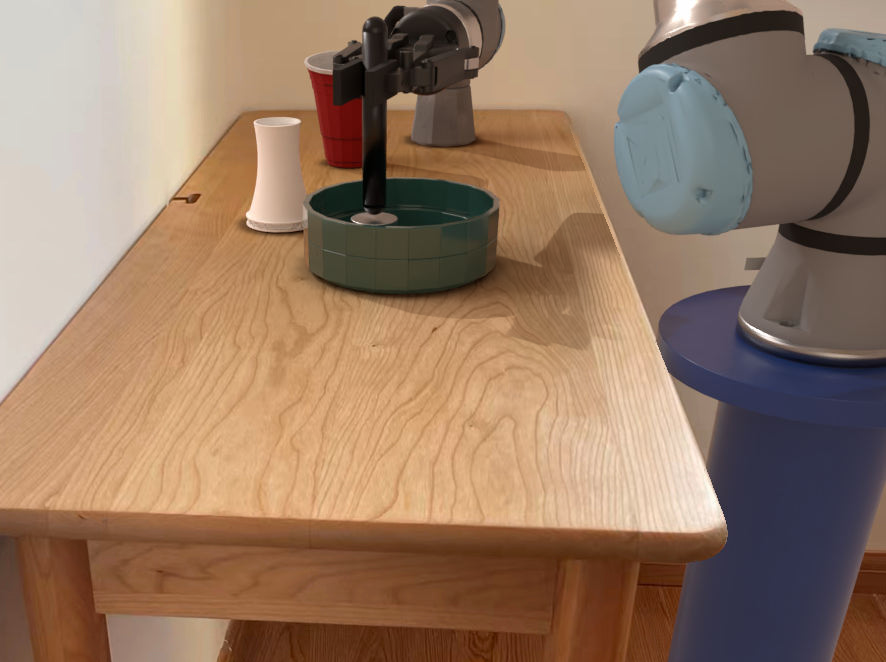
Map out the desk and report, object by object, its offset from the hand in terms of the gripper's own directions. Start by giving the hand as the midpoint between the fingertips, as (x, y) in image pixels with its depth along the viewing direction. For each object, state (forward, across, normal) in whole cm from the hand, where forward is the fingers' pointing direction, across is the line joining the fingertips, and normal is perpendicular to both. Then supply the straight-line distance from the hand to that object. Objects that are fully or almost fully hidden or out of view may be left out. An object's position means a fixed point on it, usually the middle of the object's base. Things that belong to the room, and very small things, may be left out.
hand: (353, 88), depth 95 cm
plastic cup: (-45, +17, -16) cm, 51 cm away
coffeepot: (-62, +11, -16) cm, 65 cm away
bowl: (-6, -2, -16) cm, 18 cm away
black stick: (-6, 0, -14) cm, 15 cm away
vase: (-17, +14, -16) cm, 28 cm away
